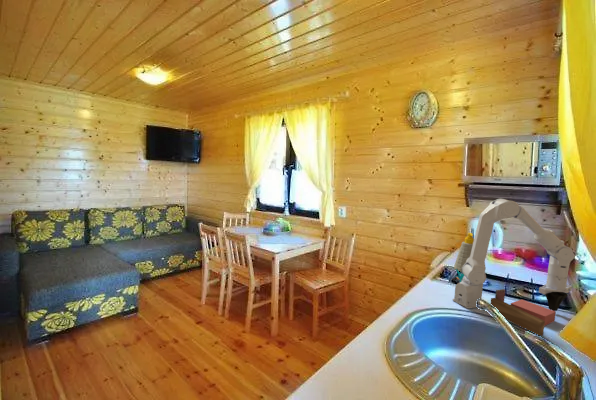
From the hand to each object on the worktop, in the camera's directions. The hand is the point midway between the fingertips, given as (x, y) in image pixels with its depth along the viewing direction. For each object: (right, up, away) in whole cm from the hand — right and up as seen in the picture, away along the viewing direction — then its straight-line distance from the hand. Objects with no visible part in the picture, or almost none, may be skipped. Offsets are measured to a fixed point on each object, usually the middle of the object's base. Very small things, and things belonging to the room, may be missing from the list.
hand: (552, 309), depth 115 cm
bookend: (-20, -1, +2) cm, 20 cm away
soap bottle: (-6, +4, +48) cm, 48 cm away
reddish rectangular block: (-11, -2, -3) cm, 11 cm away
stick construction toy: (-19, +2, +30) cm, 35 cm away
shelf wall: (-20, -2, -7) cm, 21 cm away
